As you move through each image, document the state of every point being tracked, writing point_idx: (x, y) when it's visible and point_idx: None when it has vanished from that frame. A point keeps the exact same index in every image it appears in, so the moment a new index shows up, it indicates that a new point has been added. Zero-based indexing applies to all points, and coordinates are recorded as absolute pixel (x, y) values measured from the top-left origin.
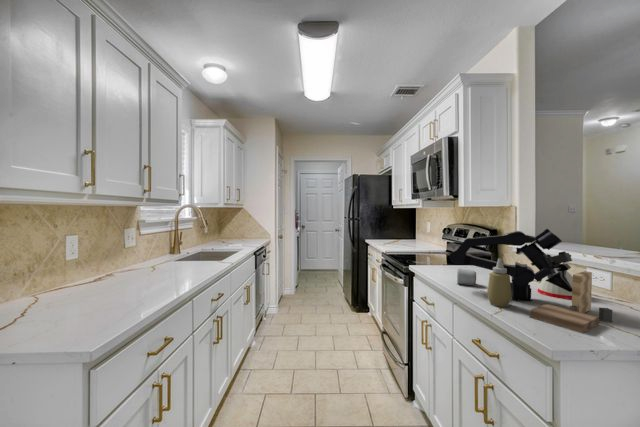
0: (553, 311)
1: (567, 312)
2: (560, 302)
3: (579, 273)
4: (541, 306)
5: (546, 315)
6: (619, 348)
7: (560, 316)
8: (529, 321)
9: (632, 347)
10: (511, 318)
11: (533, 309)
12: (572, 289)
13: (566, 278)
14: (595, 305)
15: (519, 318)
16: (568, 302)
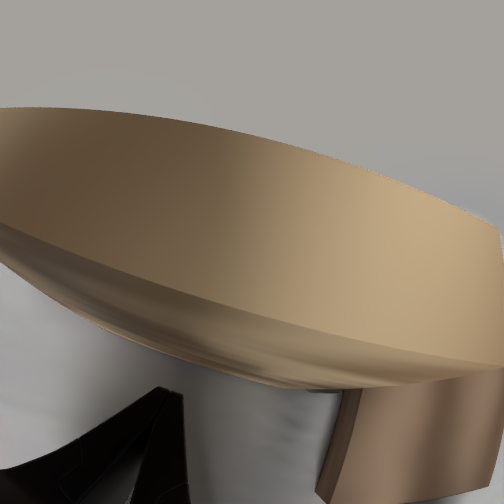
0: (453, 431)
1: (424, 385)
2: (52, 427)
3: (168, 226)
4: (410, 498)
5: (501, 425)
6: (501, 239)
7: (492, 385)
8: (499, 457)
9: (475, 213)
10: (500, 496)
11: (474, 486)
12: (348, 387)
13: (39, 460)
14: (11, 270)
15: (491, 488)
16: (25, 385)
